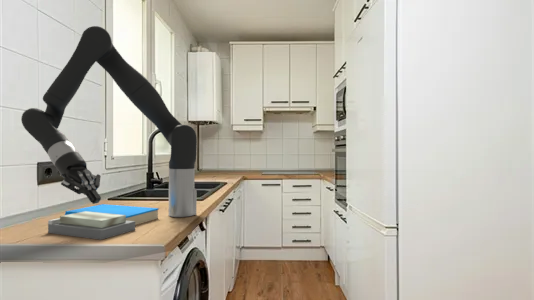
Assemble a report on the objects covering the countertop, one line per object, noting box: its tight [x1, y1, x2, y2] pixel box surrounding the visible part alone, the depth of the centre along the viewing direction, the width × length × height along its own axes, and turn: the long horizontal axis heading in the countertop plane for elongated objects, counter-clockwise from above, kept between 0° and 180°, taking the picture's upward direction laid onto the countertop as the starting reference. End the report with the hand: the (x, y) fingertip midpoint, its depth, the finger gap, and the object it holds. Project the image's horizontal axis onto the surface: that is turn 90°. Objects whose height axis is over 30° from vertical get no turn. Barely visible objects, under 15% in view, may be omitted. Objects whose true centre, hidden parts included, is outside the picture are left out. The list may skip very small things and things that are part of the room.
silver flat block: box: [59, 211, 126, 228], centre depth 105 cm, size 9×16×2 cm, turn 69°
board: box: [47, 217, 136, 241], centre depth 105 cm, size 13×20×4 cm, turn 69°
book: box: [64, 203, 160, 226], centre depth 122 cm, size 17×4×25 cm
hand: (97, 201), depth 105 cm, fingers closed
